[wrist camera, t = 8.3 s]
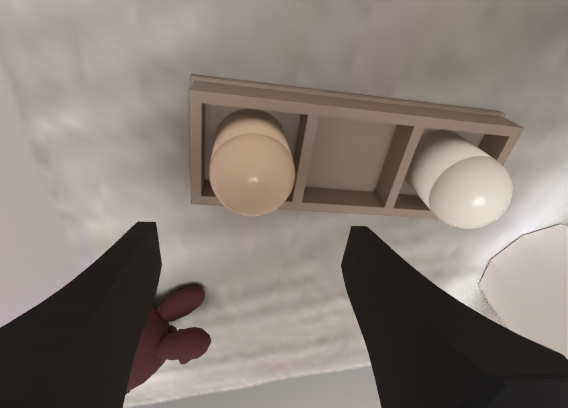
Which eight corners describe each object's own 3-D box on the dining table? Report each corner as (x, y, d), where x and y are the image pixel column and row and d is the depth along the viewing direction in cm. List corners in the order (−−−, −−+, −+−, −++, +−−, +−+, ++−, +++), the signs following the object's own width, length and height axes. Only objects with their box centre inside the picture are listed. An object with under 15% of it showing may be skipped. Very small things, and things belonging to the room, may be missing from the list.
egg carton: (500, 111, 21) (528, 125, 19) (454, 203, 25) (473, 223, 23) (191, 74, 18) (185, 85, 16) (193, 185, 22) (187, 206, 20)
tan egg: (289, 110, 19) (307, 154, 14) (282, 176, 22) (295, 234, 17) (213, 105, 19) (203, 149, 14) (215, 173, 21) (206, 233, 16)
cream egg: (476, 132, 21) (549, 178, 16) (449, 190, 24) (505, 246, 19) (414, 126, 21) (471, 171, 16) (392, 185, 23) (435, 242, 18)
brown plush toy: (57, 437, 26) (231, 371, 26) (-34, 427, 21) (187, 343, 20) (72, 350, 31) (220, 293, 30) (2, 323, 25) (182, 254, 25)
